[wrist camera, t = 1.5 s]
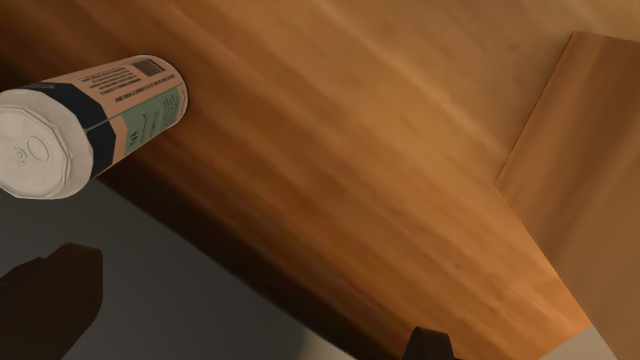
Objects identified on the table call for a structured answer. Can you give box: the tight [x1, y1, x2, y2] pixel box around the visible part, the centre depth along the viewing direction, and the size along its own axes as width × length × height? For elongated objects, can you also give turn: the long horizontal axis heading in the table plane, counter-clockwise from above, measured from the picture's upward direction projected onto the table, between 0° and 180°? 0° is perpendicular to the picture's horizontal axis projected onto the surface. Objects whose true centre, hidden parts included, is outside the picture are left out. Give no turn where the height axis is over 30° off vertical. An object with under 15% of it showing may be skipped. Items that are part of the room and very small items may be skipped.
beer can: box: [0, 55, 188, 199], centre depth 22 cm, size 5×5×12 cm
